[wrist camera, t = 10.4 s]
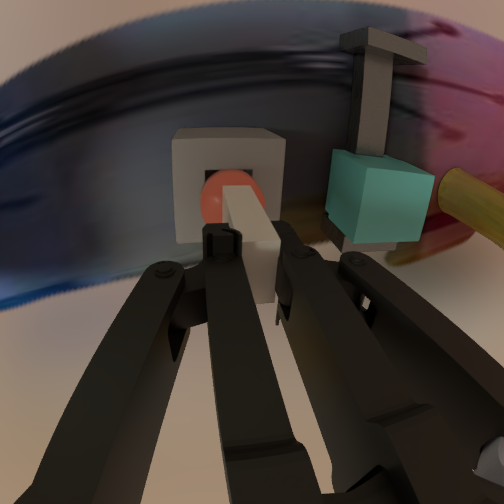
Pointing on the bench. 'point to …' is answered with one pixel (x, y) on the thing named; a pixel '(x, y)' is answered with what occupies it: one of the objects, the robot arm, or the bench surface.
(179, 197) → the grey cube housing
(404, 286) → the robot arm
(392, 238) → the block
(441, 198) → the vase
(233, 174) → the red ball knob
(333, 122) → the bench surface
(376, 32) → the rail
